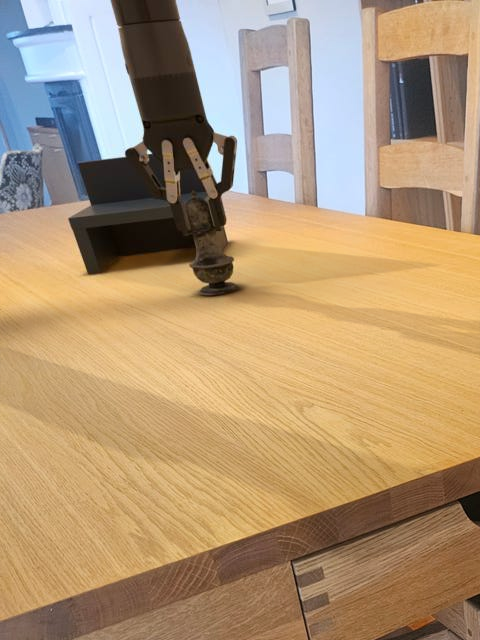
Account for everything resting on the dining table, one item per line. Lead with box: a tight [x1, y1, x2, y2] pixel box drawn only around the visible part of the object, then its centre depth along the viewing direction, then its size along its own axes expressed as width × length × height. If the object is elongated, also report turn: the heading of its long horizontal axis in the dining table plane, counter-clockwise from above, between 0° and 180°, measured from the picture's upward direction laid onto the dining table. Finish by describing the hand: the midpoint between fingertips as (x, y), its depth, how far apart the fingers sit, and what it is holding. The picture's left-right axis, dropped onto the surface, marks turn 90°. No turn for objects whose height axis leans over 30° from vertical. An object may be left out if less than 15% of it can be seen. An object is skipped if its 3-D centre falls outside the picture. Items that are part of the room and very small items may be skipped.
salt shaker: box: [186, 190, 240, 296], centre depth 108 cm, size 6×6×12 cm
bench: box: [67, 153, 229, 275], centre depth 131 cm, size 20×14×14 cm
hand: (203, 231), depth 107 cm, fingers closed on salt shaker, 3 cm apart
